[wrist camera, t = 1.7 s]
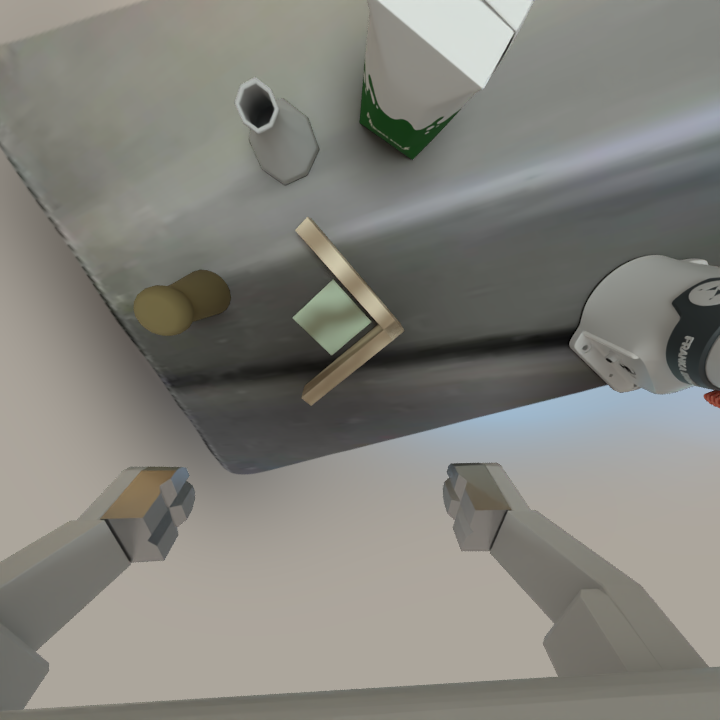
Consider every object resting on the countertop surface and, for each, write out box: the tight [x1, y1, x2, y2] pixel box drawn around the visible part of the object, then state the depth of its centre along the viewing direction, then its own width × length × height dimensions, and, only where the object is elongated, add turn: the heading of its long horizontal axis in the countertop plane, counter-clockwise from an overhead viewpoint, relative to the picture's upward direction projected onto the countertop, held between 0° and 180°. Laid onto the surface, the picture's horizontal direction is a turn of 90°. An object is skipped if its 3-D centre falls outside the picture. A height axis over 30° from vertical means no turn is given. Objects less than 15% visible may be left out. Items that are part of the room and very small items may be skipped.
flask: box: [234, 77, 319, 185], centre depth 25 cm, size 7×7×10 cm
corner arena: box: [293, 217, 404, 405], centre depth 37 cm, size 18×18×4 cm
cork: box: [134, 270, 231, 336], centre depth 31 cm, size 6×6×11 cm
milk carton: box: [360, 0, 535, 160], centre depth 19 cm, size 9×9×20 cm
